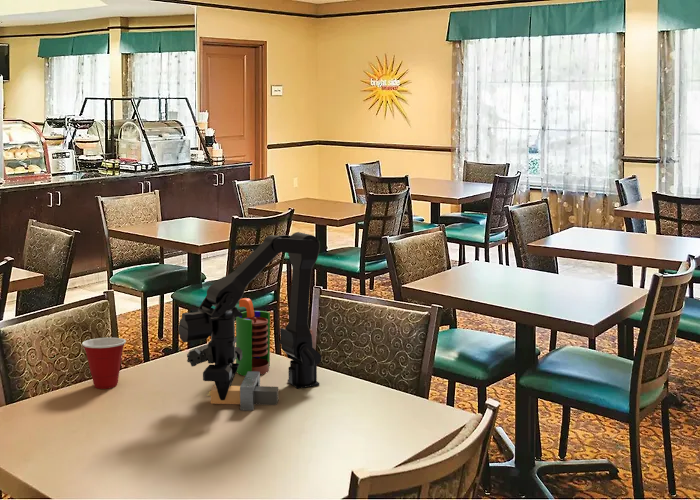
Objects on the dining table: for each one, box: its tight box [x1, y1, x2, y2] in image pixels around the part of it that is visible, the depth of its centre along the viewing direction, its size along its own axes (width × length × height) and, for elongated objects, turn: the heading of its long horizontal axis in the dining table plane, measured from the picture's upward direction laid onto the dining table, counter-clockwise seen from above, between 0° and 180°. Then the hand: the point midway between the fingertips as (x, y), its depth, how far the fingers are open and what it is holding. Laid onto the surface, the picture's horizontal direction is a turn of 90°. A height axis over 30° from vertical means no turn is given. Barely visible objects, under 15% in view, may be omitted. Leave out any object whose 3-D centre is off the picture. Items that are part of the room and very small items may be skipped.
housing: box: [239, 371, 261, 411], centre depth 192 cm, size 3×11×6 cm, turn 178°
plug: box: [206, 385, 279, 406], centre depth 192 cm, size 17×3×3 cm, turn 88°
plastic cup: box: [81, 337, 127, 390], centre depth 202 cm, size 11×11×12 cm
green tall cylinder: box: [235, 297, 271, 377], centre depth 214 cm, size 10×9×20 cm
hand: (224, 397), depth 192 cm, fingers closed on plug, 3 cm apart
